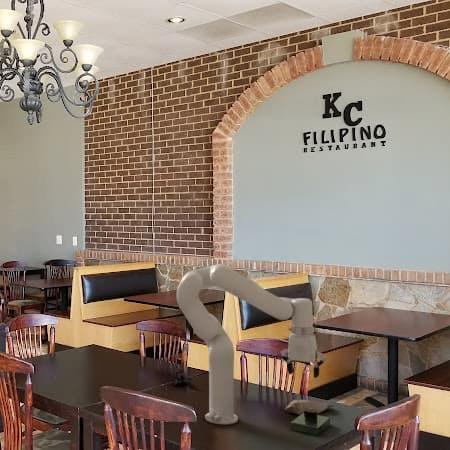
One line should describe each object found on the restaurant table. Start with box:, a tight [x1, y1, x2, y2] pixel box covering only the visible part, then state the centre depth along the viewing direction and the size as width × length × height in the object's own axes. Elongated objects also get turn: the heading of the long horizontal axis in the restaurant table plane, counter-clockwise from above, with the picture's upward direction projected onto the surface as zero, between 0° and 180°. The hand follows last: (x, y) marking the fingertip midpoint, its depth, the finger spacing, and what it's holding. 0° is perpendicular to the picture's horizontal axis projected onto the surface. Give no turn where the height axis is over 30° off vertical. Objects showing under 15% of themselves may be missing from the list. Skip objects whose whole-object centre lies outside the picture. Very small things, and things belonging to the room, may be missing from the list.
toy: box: [172, 368, 192, 387], centre depth 293 cm, size 6×8×15 cm
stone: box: [284, 399, 335, 416], centre depth 252 cm, size 21×6×10 cm
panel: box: [290, 413, 331, 437], centre depth 233 cm, size 14×10×3 cm
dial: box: [304, 408, 318, 422], centre depth 233 cm, size 5×5×4 cm
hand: (303, 375), depth 236 cm, fingers open, 9 cm apart
